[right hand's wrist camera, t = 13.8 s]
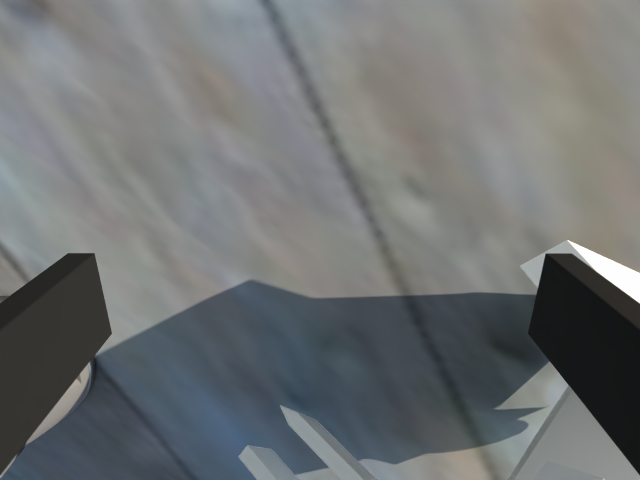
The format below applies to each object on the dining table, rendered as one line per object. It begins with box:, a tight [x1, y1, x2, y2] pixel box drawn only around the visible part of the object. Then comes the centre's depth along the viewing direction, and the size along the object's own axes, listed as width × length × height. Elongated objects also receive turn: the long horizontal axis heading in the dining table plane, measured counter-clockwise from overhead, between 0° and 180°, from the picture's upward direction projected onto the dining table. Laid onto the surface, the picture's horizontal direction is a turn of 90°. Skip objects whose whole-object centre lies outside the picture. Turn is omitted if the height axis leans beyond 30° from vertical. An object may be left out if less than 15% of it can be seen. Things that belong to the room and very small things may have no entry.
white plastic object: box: [238, 240, 640, 480], centre depth 34 cm, size 37×45×31 cm
